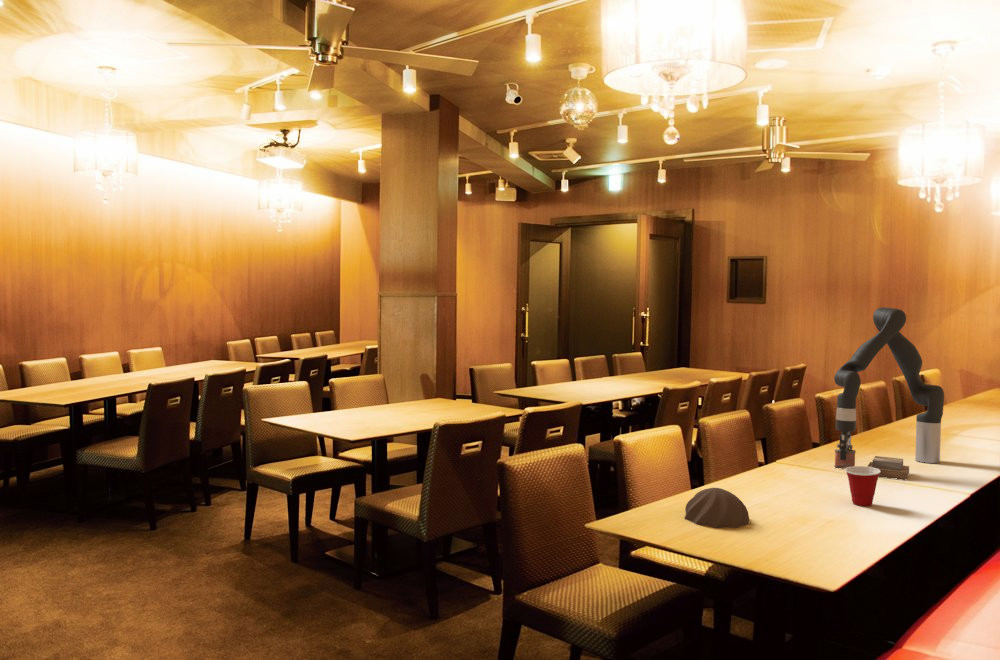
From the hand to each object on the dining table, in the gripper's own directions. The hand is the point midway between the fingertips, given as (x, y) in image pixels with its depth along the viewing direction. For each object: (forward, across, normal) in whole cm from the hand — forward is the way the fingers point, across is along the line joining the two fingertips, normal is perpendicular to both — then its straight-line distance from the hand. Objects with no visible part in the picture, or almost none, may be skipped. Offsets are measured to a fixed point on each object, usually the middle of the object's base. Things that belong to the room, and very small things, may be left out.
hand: (844, 458), depth 306 cm
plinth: (+4, -3, -16) cm, 17 cm away
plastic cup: (+5, -59, -13) cm, 60 cm away
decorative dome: (+6, -104, +23) cm, 106 cm away
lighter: (+4, 0, 0) cm, 4 cm away
